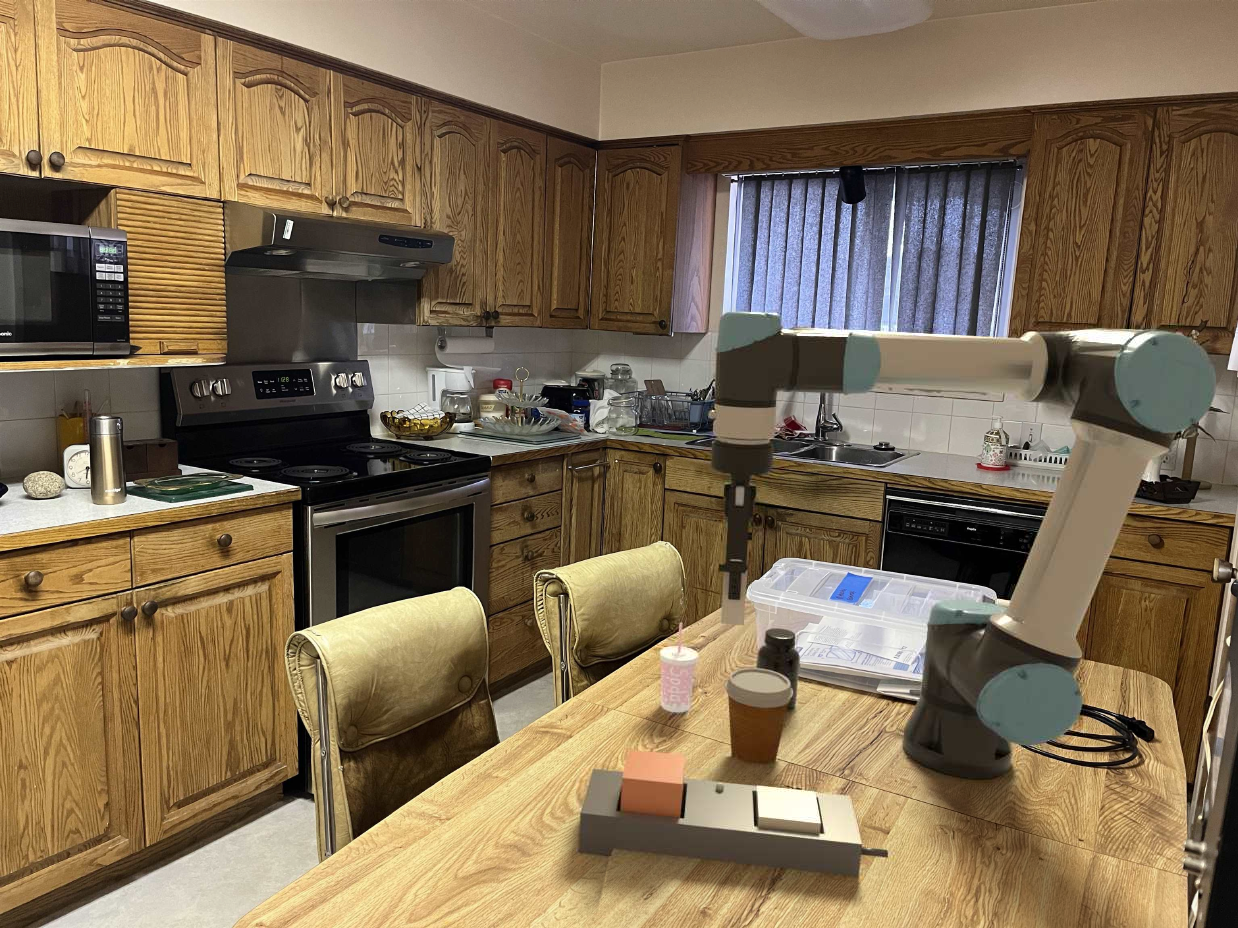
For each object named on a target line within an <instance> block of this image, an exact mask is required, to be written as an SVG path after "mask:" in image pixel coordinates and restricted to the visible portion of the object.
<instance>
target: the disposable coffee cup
mask: <svg viewBox="0 0 1238 928" xmlns="http://www.w3.org/2000/svg"><path fill="white" fill-rule="evenodd" d="M724 685H725V690H726V693H727V695H728V699H727V700H728V713H729V714H728V715H729V733H730V753H731V756H730V757H731V758H736V759H738V760H740V761H742V762H746V763H749V764H755V765H762V764H763V765H764V764H768V763H771V762H777V761H776V760H777V756H778V752H779V748H780V743H781V738H782V733H783V728H784V725H785V720H786V715H787V712H788V710H787V708H788V703H789V701H790V699H791V697H792V696H793V690H792V688H791V684H790V681H789V679H788V678H787V677H785V676H784V675H782V674H780V673H777V672H774V671H771V670H766V669H760V668H756V667H747V668H746V667H745V668H739V669H737V670H734V671H732V672H730V674H729V676H728V679H727V681H726V682H725V684H724Z"/></svg>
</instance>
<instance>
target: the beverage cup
mask: <svg viewBox="0 0 1238 928" xmlns="http://www.w3.org/2000/svg"><path fill="white" fill-rule="evenodd" d="M678 627H679V628H678V639H677V646H676V645H673V646H671V645H670V646H666V647H665V646H664V647H663V648H661V649H660V651H659V658H660V664H661V665H660V666H661V667H660V671H661V672H660V677H661V678H660V679H661V680H660V691H661V692H660V693H661V695H660V702H661V704H660V705H661V708H662V709H663V710H665V711H667V712H671V713H684V712H687V711H688V710H690V709H691V707H690V706H691V699H692V693H693V687H694V686H693V685H694V680H695V678H694V677H695V670H696V664H697V662H698V660H699V659H698V658H699V653H698V652H697V651H696V650H695V649H692V648H691V647H690V648H689V647H687V646H682V639H683V638H682V636H683V622H679V626H678Z"/></svg>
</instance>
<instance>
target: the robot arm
mask: <svg viewBox="0 0 1238 928" xmlns="http://www.w3.org/2000/svg"><path fill="white" fill-rule="evenodd" d="M718 324H719V325H718V334H717V342H716V347H715V352H716V354H715V379H714V406H713V407H714V409H715V410H709V412H708V414H707V415H708V417H709V419H714V421H713V426H712V434H713V435H714V437H717V438H714V440H713V441H712V442H711V456H710V457H711V458H710V467H711V468H712V470H713V471H716V472H717V473H721V474H730V476H731V481H730V482H724V487H723V501H724V513H723V514H724V516H723V517H724V520H725V522H727V530H726V548H725V562H724V563H723V564H720V563H719V564H718V572H722V573H723V580H722V581H723V582H722V583H723V584H722V597H721V600H722V601H721V614H720V615H721V616H720V617H721V618H720V624H725V625H735V626H744V625H745V614H746V613H745V611H746V597H747V596H746V595H747V594H746V592H747V577H748V570H749V569H748V567H749V565H748V564H747V562H748V560H747V559H748V545H749V544H748V543H749V542H748V541H753V532H752V531H750V532H749V528H750V527H749V525H750V524H751V523H752V522H753V520H754V505H755V504H756V501H757V500H756V499H757V484H752V483H751V477H752V476H753V475H755V476H763V475H767V474H769V473H770V472H771V471H772V470H773V460H774V447H775V446H774V445H773V443H772V441H770V440H772V439H774V438H775V436H776V422H777V421H776V419H777V396H778V392H783V393H790V392H796V393H813V394H817V393H818V394H838V395H839V394H840V395H841V394H843V395H844V396H848V395H851V394H852V395H853V394H856V395H857V394H858V395H859V394H868V393H870V392H872V390H873V389H874V388H888V389H889V388H890V389H891V388H892V389H912V390H928V391H929V390H930V391H948V392H950V391H953V392H966V393H967V392H968V393H969V392H970V393H991V394H1009V395H1014V396H1015V397H1016V399H1018V400H1019V401H1021V402H1023V403H1037V404H1039V403H1041V404H1046V405H1052V406H1057V407H1061V408H1064V409H1069V410H1073V411H1072V413H1071V415H1070V418H1069V424H1070V426H1071V428H1072V430H1073V432H1074V435H1075V441H1074V443H1073V446H1072V448H1071V451H1070V453H1069V455H1068V458H1067V461H1066V462H1065V465H1064V467H1063V471H1062V472H1061V475H1060V478H1059V480H1058V483H1057V485H1056V488H1055V489H1054V492H1053V495H1052V497H1051V499H1050V502H1049V504H1048V507H1047V510H1046V512H1045V515H1044V518H1043V519H1042V521H1041V522H1042V523H1041V524H1040V527H1039V530H1038V532H1037V534H1036V536H1035V539H1034V542H1033V545H1032V547H1031V549H1030V551H1029V554H1028V555H1027V558H1026V561H1025V563H1024V567H1023V569H1022V570H1021V574H1020V575H1019V579H1018V582H1017V583H1016V586H1015V589H1014V591H1013V594H1012V595H1011V599H1010V601H1009V603H1008V605H1007V606H1003V605H999V604H996V603H990V602H983V601H975V600H965V599H964V600H963V599H962V600H960V599H958V600H957V599H955V600H951V599H949V600H942V601H939V602H937V603H935V604H934V605H933V606H932V607H931V610H930V612H929V613H930V614H929V617H928V621H927V624H926V625H927V629H926V630H927V632H926V633H927V634H926V640H925V649H924V650H925V651H924V659H923V661H924V662H923V670H922V679H921V688H920V694H919V695H920V696H919V699H918V701H917V702H916V704H915V706H914V709H913V711H912V712H911V715H910V716H909V718H908V720H907V722H906V724H905V726H904V728H903V735H902V736H903V738H902V747H903V749H904V751H905V752H906V753H907V754H908V756H910V758H912V759H914V761H916V762H918V763H919V764H921V765H923V766H925V767H927V768H929V769H932V770H935V772H939V773H944V774H946V775H950V776H953V777H959V778H964V779H965V778H968V779H978V780H979V779H981V780H983V779H992V778H998V777H1000V776H1002V775H1004V774H1006V773H1008V771H1009V770H1010V769H1011V765H1012V756H1013V748H1012V744H1016V745H1020V746H1038V745H1039V746H1040V745H1043V744H1045V743H1047V742H1049V741H1050V740H1056V739H1058V738H1060V737H1061V736H1062V735H1063V736H1064V734H1065V733H1067V732H1068V731H1069V730H1070V729H1071V728H1072V727H1073V726H1074V724H1075V723H1076V721H1077V720H1078V719H1079V716H1080V713H1081V710H1082V706H1083V693H1082V692H1081V690H1080V685H1079V683H1078V681H1077V680H1076V678H1075V677H1074V676H1075V675H1076V671H1077V669H1078V666H1079V664H1080V662H1081V659H1082V656H1083V652H1082V649H1081V647H1080V646H1079V643H1078V641H1077V638H1076V636H1077V635H1078V631H1079V629H1080V627H1081V625H1082V623H1083V620H1084V618H1085V615H1086V613H1087V610H1088V607H1089V605H1090V604H1091V601H1092V598H1093V596H1094V594H1095V591H1096V589H1097V587H1098V584H1099V581H1100V580H1101V577H1102V574H1103V572H1104V570H1105V567H1106V565H1107V563H1108V561H1109V558H1110V555H1111V553H1112V550H1113V549H1114V546H1115V543H1116V541H1117V539H1118V537H1119V533H1120V532H1121V529H1122V528H1123V525H1124V522H1125V520H1126V517H1127V515H1128V512H1129V510H1130V508H1131V505H1132V503H1133V500H1134V499H1135V496H1136V494H1137V490H1138V489H1139V486H1140V484H1141V481H1142V479H1143V476H1144V474H1145V472H1146V469H1147V467H1148V464H1149V462H1151V460H1153V459H1155V458H1157V457H1159V456H1161V455H1164V454H1166V453H1168V452H1169V451H1170V449H1171V446H1172V444H1173V442H1174V438H1175V437H1176V435H1177V433H1179V432H1180V431H1183V430H1187V429H1189V428H1190V427H1191V426H1192V425H1194V424H1197V423H1198V422H1200V421H1201V420H1202V419H1203V418H1204V416H1205V415H1206V414H1207V413H1208V411H1209V410H1210V408H1211V406H1212V404H1213V402H1214V398H1215V395H1216V388H1217V377H1216V371H1215V367H1214V365H1213V364H1212V363H1211V360H1210V357H1209V355H1208V353H1207V351H1206V350H1205V349H1204V348H1203V347H1202V346H1201V345H1200V344H1199V343H1198V342H1196V341H1195V340H1193V339H1192V338H1190V337H1188V336H1186V335H1183V334H1180V333H1175V332H1171V331H1168V330H1167V331H1164V330H1160V329H1156V328H1151V329H1150V328H1149V329H1123V328H1115V327H1114V328H1113V327H1112V328H1111V327H1101V328H1100V327H1099V328H1087V329H1078V330H1067V331H1027V332H1025V333H1024V334H1023V335H1021V337H1020V338H1019V337H1001V336H1000V337H999V336H998V337H997V336H979V335H978V336H976V335H975V336H974V335H961V334H960V335H959V334H955V335H954V334H941V333H940V334H939V333H936V334H934V333H915V332H896V331H878V330H877V331H876V330H875V331H874V330H855V329H853V330H852V329H836V328H835V329H834V328H833V329H831V328H815V327H808V326H793V327H790V328H789V327H788V328H787V329H785V328H783V327H784V326H783V324H782V316H781V315H780V314H778V313H776V312H756V311H755V312H752V311H750V312H749V311H728V312H725V313H724V314H723V315H722V316H721V317H720V320H719V323H718Z"/></svg>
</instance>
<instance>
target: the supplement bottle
mask: <svg viewBox="0 0 1238 928" xmlns="http://www.w3.org/2000/svg"><path fill="white" fill-rule="evenodd" d="M764 636H765V637H764V644H763V645H762V646H761V647H759V648H758V651H757V655H756V667H755V668H760V669H766V670H771V671H774V672H777V673H780V674H782V675H784V676H785V677H787V678H788V679H789V681H790V684H791V688H792V690H793V696H792V697H791V699H790V701H789V703H788V708H787V711H789V710H792V709H793V708H794V707H795V706H796V703H797V694H798V686H799V685H798V684H799V674H800V673H799V672H800V664H801V661H800V659H801V656H800V653H799V651H798V650H797V649H795V646H796V634H795V632H793V631H792V630H788V629H784V628H778V627H777V628H776V627H774V628H769V629H767V630H765V633H764Z"/></svg>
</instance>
